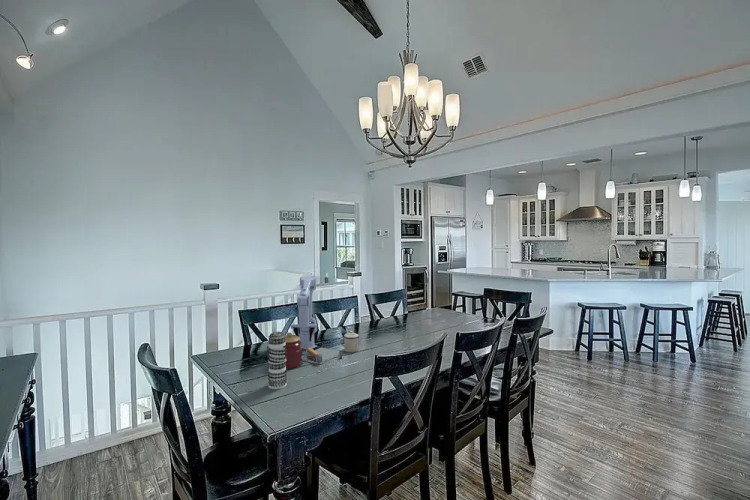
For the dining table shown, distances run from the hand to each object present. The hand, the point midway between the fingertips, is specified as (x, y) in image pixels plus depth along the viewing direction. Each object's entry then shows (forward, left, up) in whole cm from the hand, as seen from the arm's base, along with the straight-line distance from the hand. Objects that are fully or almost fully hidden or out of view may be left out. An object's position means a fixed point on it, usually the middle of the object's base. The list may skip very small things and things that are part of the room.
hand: (304, 340), depth 216 cm
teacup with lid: (+13, +26, -11) cm, 31 cm away
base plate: (+8, +8, -10) cm, 15 cm away
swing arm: (+5, +2, -9) cm, 11 cm away
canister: (-1, -11, -11) cm, 15 cm away
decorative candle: (+13, -35, -11) cm, 39 cm away
